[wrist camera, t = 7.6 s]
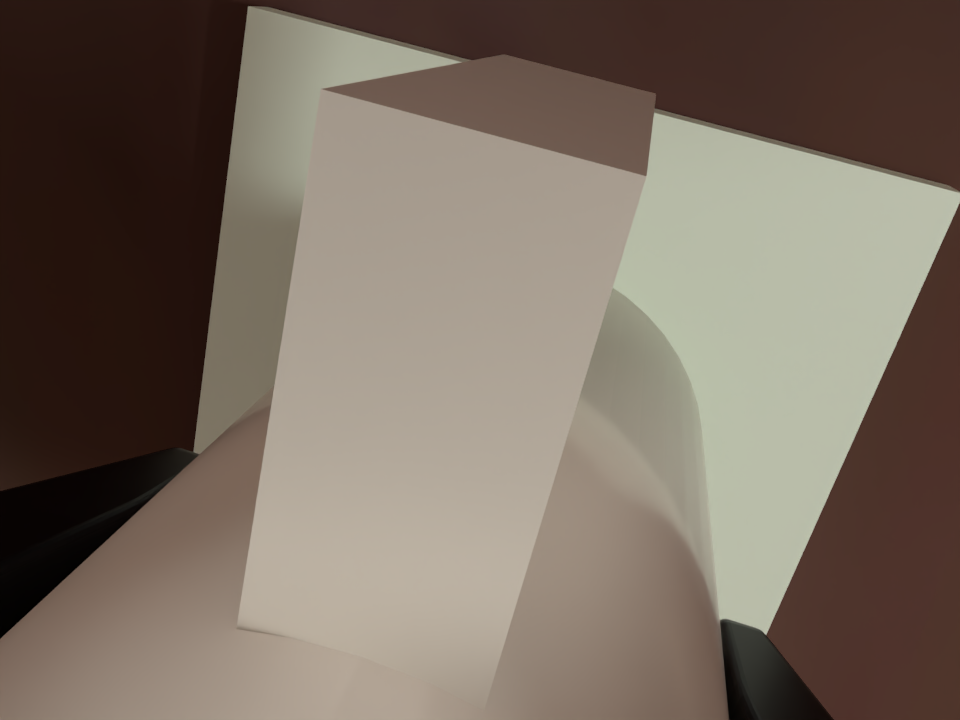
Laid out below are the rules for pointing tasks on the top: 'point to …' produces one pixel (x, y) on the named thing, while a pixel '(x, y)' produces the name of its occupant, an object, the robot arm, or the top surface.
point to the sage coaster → (635, 285)
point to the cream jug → (426, 451)
